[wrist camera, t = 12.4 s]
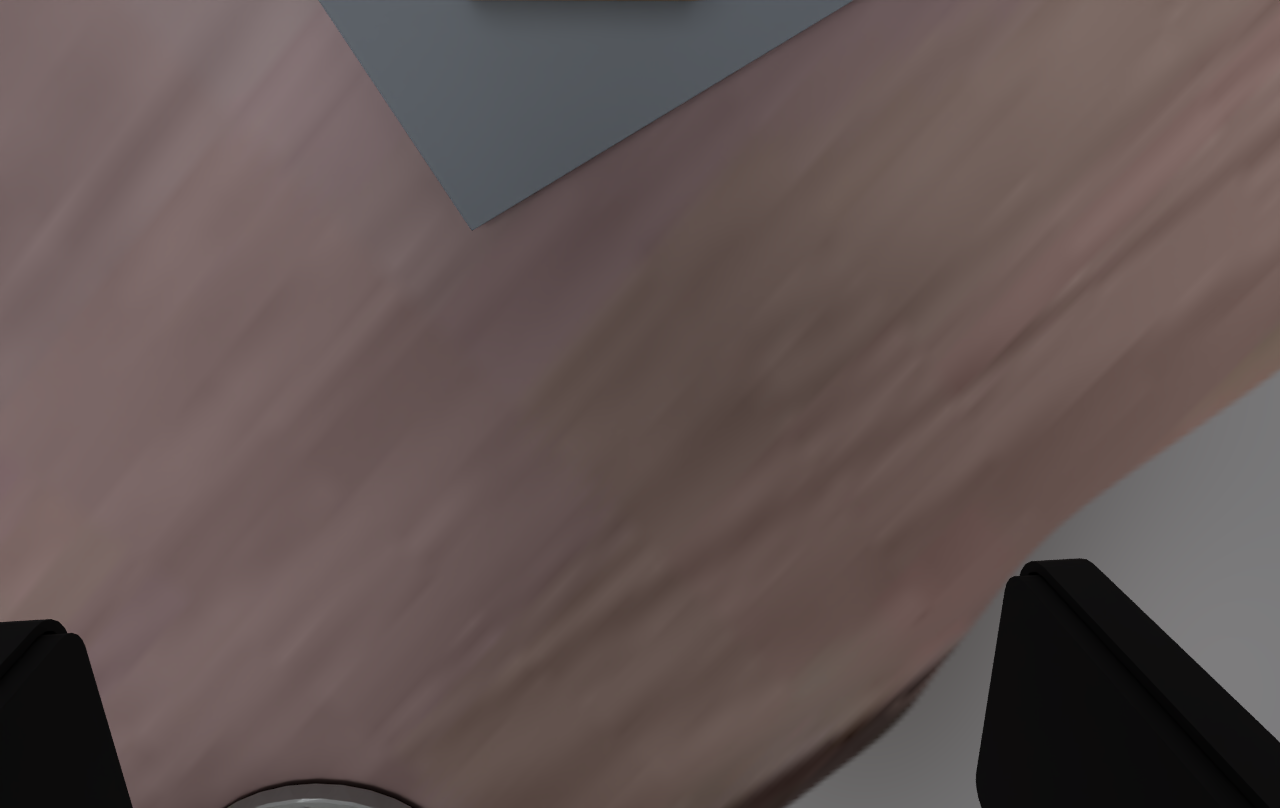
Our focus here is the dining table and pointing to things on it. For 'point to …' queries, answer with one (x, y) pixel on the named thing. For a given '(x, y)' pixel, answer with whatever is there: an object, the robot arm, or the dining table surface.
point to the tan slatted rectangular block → (612, 0)
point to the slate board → (547, 77)
